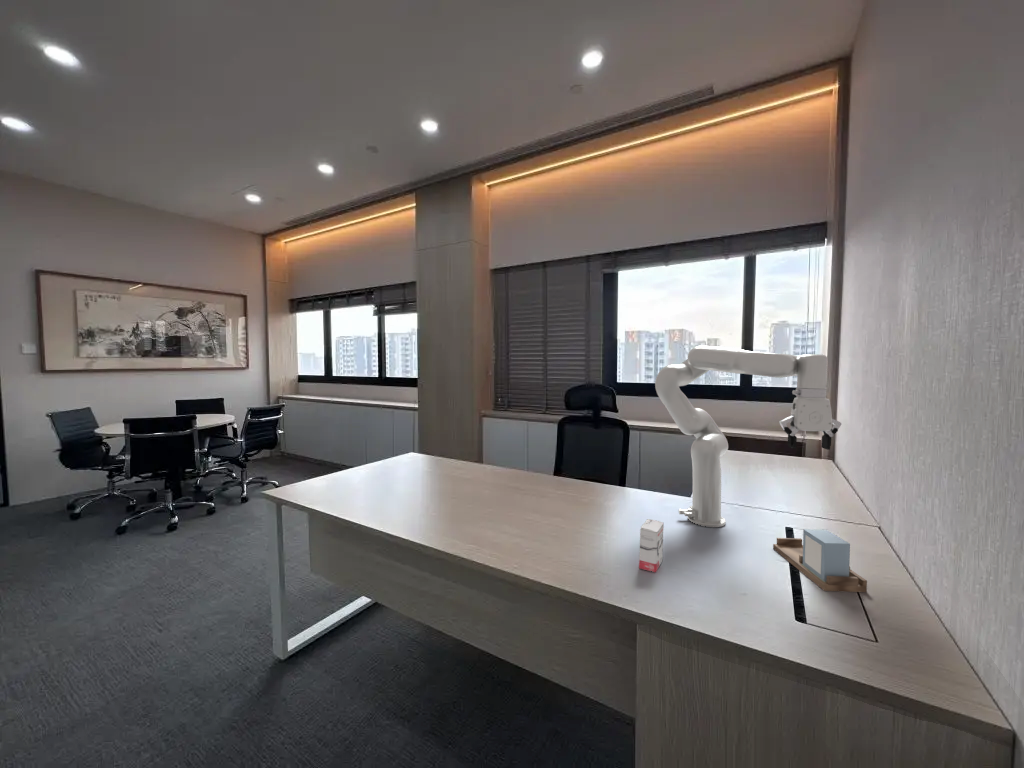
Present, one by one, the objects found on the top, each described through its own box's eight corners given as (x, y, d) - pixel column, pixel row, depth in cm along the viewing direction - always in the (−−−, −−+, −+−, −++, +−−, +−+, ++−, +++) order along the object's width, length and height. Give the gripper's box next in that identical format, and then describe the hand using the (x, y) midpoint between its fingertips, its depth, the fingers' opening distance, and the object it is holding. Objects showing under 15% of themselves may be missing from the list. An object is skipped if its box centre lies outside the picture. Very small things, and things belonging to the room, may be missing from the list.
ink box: (657, 573, 114) (657, 531, 114) (638, 569, 117) (638, 527, 116) (663, 560, 122) (664, 521, 121) (646, 556, 124) (646, 517, 124)
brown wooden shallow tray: (824, 590, 105) (824, 576, 104) (773, 548, 128) (773, 537, 128) (867, 592, 104) (867, 578, 104) (807, 549, 128) (807, 538, 127)
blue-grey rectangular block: (823, 581, 106) (824, 543, 106) (802, 564, 115) (802, 529, 115) (849, 582, 106) (850, 543, 105) (825, 565, 115) (826, 529, 114)
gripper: (787, 394, 126) (785, 450, 127) (849, 395, 124) (847, 451, 125) (775, 392, 134) (773, 445, 135) (833, 393, 131) (831, 446, 132)
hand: (808, 448), depth 130 cm, fingers open, 9 cm apart
